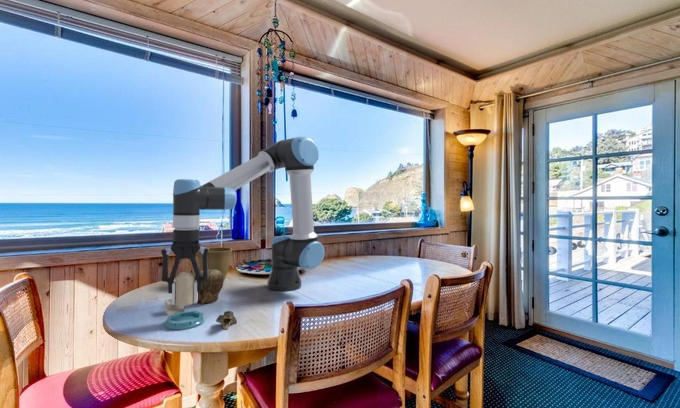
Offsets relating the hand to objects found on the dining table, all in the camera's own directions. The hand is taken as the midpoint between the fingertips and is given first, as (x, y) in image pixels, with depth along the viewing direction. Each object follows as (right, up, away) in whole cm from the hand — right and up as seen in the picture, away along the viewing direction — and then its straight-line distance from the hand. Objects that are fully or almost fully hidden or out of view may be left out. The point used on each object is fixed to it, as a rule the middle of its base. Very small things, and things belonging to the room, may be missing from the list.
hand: (185, 302), depth 103 cm
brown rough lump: (-2, -6, +23) cm, 24 cm away
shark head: (+14, -7, -2) cm, 16 cm away
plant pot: (-9, -6, +47) cm, 48 cm away
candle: (0, -1, 0) cm, 1 cm away
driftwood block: (-8, -6, +10) cm, 15 cm away
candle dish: (0, -7, 0) cm, 7 cm away
